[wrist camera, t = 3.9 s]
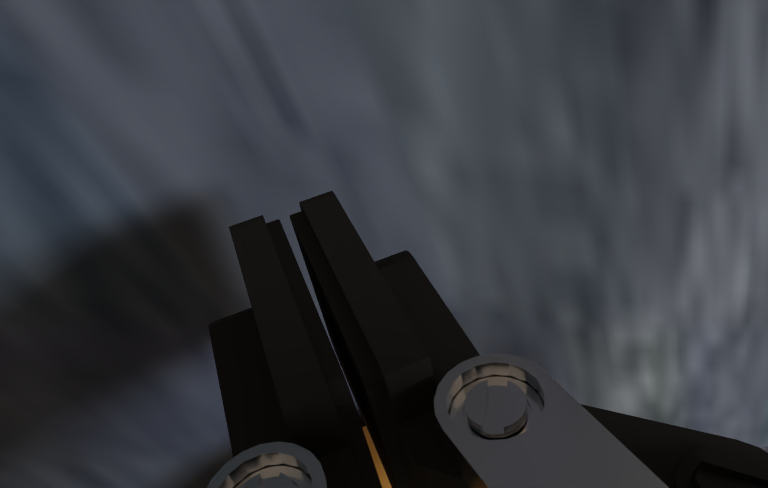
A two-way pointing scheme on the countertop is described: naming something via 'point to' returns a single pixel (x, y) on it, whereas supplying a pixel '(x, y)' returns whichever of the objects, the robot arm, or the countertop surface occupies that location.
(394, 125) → the countertop surface
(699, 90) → the countertop surface
